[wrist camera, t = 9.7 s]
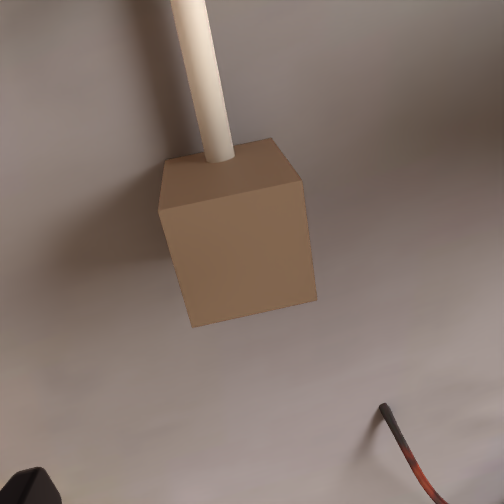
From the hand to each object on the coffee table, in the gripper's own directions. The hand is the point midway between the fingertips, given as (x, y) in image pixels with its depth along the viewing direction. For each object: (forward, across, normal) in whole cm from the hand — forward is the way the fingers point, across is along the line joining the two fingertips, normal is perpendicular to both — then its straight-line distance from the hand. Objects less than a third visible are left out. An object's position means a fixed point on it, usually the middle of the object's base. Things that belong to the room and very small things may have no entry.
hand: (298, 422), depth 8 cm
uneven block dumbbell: (+11, 0, -7) cm, 13 cm away
